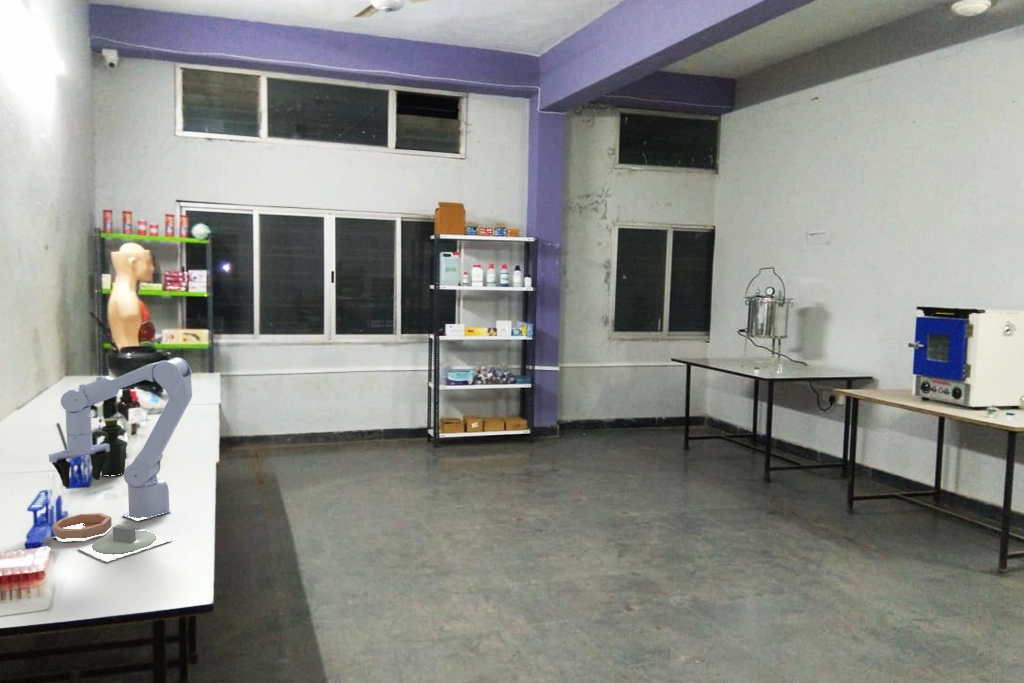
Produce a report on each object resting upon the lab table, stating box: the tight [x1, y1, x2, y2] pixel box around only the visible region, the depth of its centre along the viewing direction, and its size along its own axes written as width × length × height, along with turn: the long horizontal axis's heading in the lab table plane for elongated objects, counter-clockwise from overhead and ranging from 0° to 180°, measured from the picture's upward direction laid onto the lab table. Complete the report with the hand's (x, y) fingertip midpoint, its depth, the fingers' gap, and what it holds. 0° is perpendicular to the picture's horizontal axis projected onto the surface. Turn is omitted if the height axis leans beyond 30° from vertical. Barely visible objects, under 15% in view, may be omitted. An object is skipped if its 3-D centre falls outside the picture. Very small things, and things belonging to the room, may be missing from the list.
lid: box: [92, 524, 156, 555], centre depth 173 cm, size 14×14×4 cm
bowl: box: [51, 512, 113, 539], centre depth 180 cm, size 12×12×3 cm
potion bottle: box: [99, 417, 127, 476], centre depth 229 cm, size 8×8×18 cm
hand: (81, 482), depth 191 cm, fingers open, 7 cm apart
